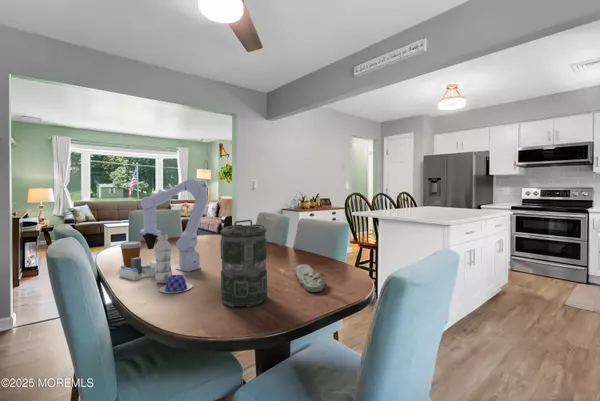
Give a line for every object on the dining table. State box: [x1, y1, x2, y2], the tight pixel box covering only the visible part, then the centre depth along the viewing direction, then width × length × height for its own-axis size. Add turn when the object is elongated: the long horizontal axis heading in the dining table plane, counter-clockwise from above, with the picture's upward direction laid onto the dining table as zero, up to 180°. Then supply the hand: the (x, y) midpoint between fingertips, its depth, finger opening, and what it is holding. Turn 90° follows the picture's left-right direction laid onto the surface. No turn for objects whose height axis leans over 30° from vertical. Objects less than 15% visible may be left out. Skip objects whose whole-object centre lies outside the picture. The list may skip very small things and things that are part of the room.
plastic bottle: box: [153, 233, 173, 284], centre depth 127 cm, size 6×7×20 cm
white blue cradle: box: [118, 260, 156, 281], centre depth 141 cm, size 12×16×5 cm
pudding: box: [159, 274, 193, 294], centre depth 120 cm, size 12×12×5 cm
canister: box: [219, 219, 268, 308], centre depth 107 cm, size 16×16×28 cm
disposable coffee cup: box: [119, 240, 142, 269], centre depth 155 cm, size 10×10×12 cm
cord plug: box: [130, 256, 142, 274], centre depth 138 cm, size 3×3×7 cm
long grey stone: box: [294, 263, 326, 293], centre depth 131 cm, size 35×5×10 cm
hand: (150, 248), depth 152 cm, fingers closed
